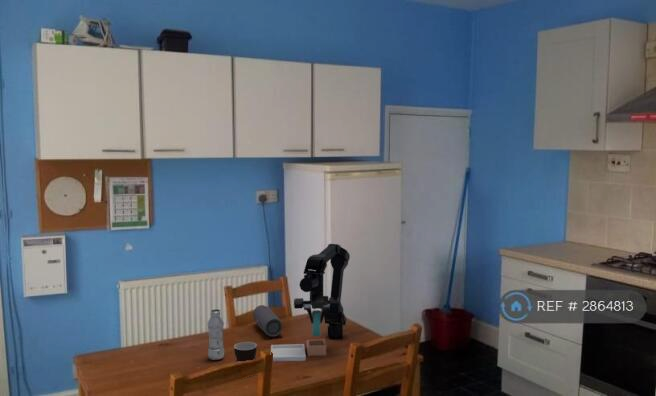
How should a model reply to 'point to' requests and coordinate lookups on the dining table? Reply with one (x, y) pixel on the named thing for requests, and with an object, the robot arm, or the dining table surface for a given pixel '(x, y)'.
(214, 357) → the plastic bottle
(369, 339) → the dining table surface
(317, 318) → the dowel pin
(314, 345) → the pin cup
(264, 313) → the bluetooth speaker
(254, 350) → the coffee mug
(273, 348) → the grey tray
